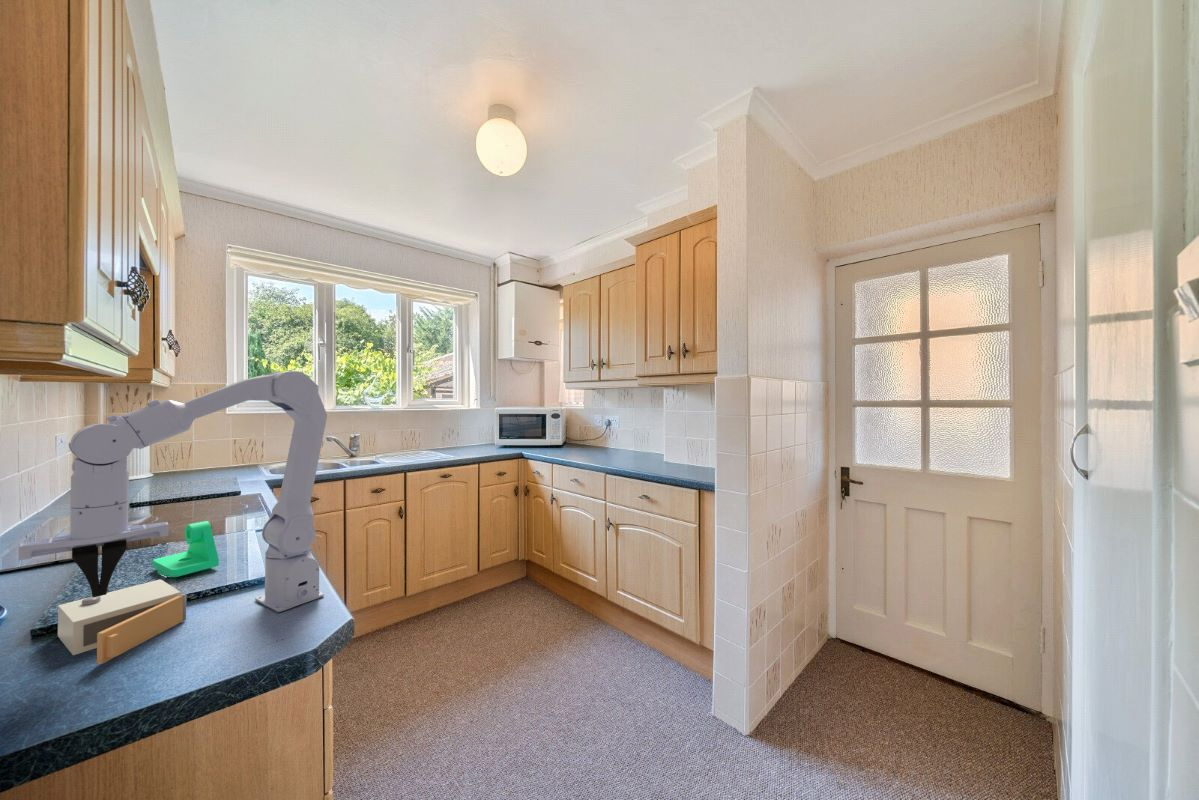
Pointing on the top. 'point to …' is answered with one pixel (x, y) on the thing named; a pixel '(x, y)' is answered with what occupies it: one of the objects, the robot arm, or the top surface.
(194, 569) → the camera mount
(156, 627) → the door
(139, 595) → the housing
